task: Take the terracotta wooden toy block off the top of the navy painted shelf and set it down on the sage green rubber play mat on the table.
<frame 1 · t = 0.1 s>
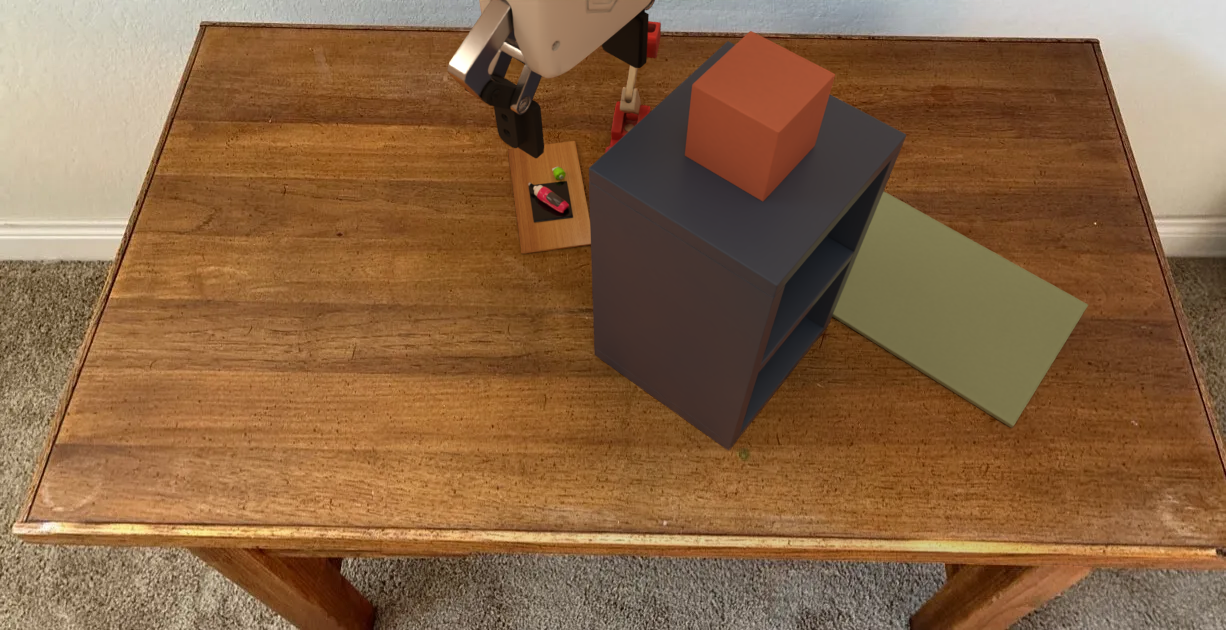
hand: (574, 99, 53), 22 cm above the table, tool pointing down, fingers open, 9 cm apart
toy fire truck: (629, 149, 80), on the table
shelf: (712, 340, 69), on the table
board: (549, 197, 77), on the table
puzzle toy: (738, 124, 82), on the table
play mat: (936, 298, 71), on the table
toy block: (750, 150, 50), point 22 cm above the table, touching shelf
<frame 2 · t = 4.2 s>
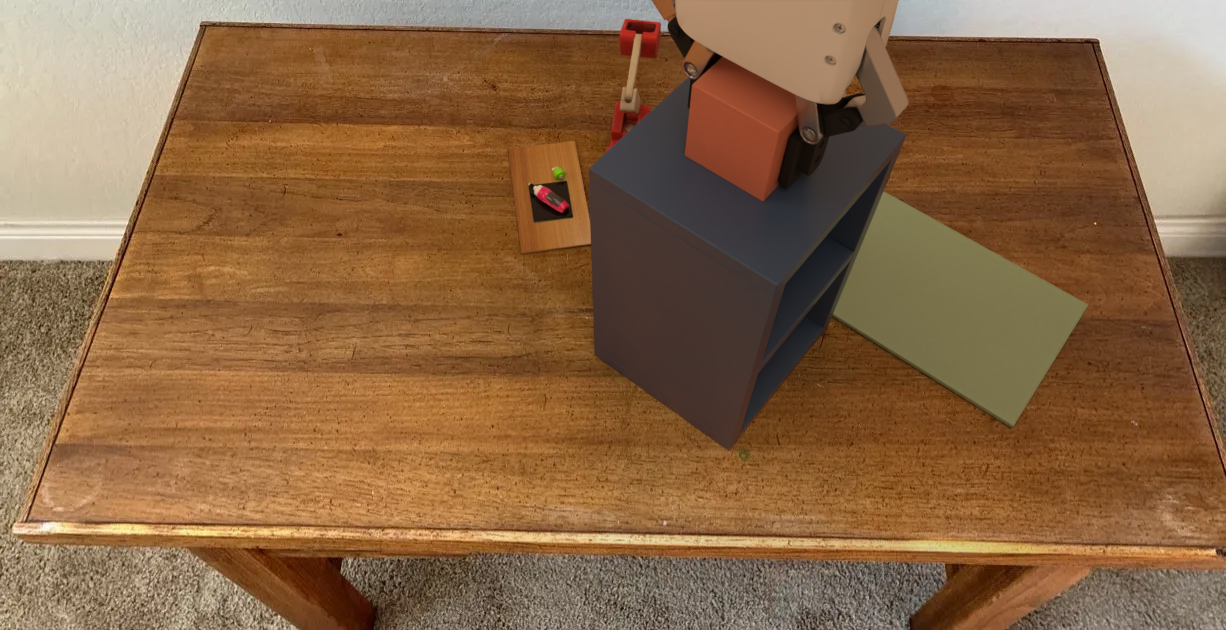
hand: (751, 144, 50), 23 cm above the table, tool pointing down, fingers closed on toy block, 5 cm apart
toy block: (750, 150, 50), point 22 cm above the table, touching gripper, shelf
everything else where it was.
when the fingers open (1 cm above the table, at t = 15.2 s): toy block stays where it is, resting on play mat.
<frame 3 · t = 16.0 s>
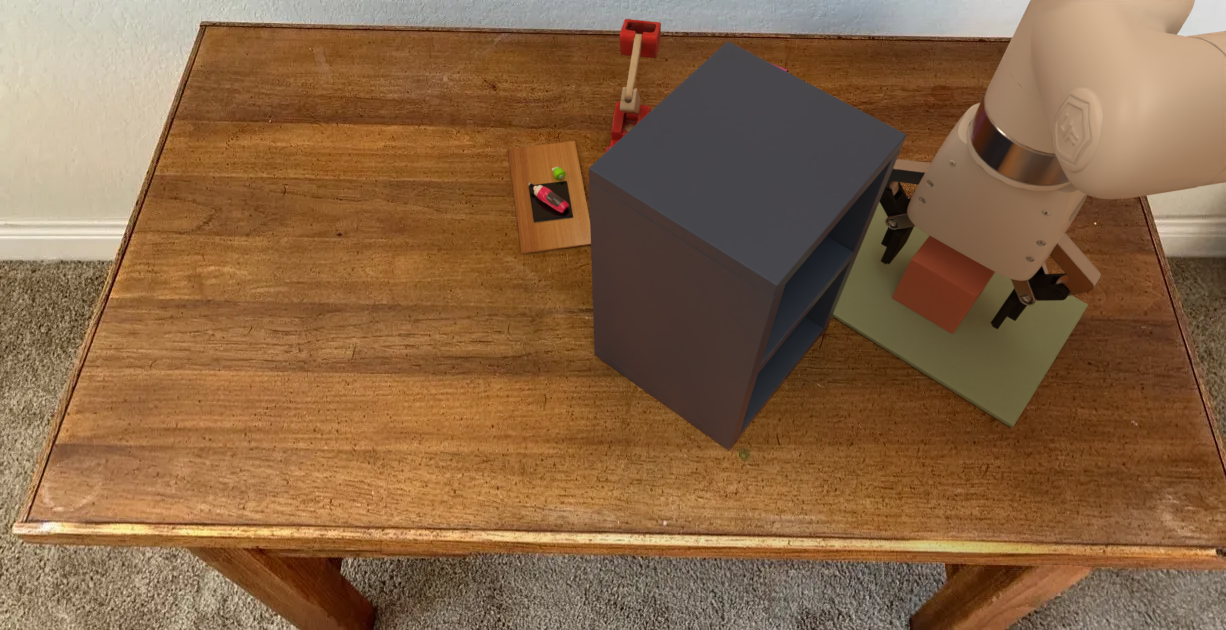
hand: (945, 283, 69), 2 cm above the table, tool pointing down, fingers open, 9 cm apart
toy block: (937, 294, 71), resting on play mat
everything else where it was.
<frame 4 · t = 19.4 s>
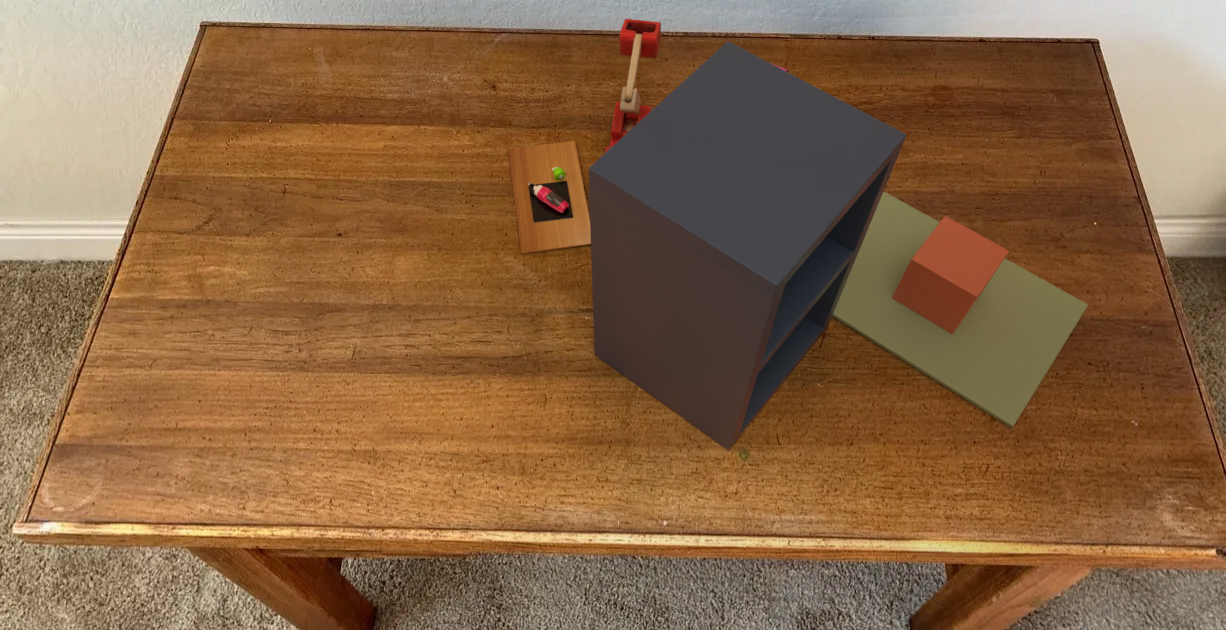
nothing on the table moved.
at the end: toy block inside the target area on the play mat (0.1 cm from its centre), point 0.4 cm above the play mat's base; toy block tilted 0°; the gripper is holding nothing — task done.
